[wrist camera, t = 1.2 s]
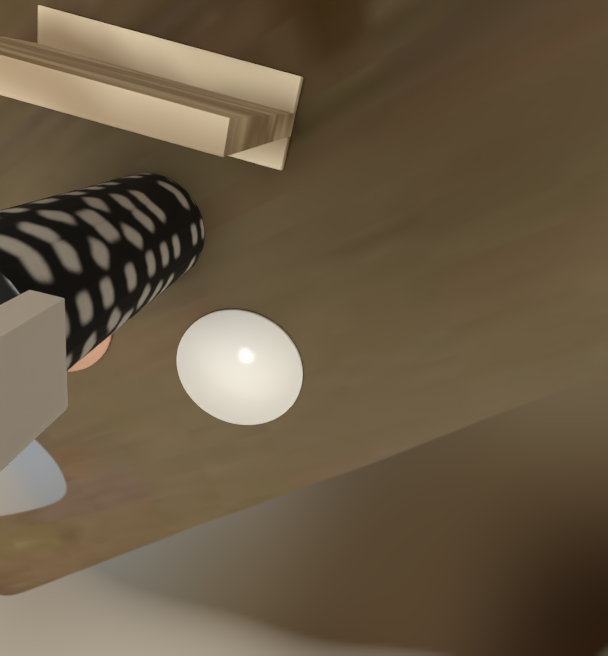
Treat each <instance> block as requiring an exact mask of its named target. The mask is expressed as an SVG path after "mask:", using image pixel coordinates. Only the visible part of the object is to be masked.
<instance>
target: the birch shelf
mask: <svg viewBox="0 0 608 656" xmlns="http://www.w3.org/2000/svg"><path fill="white" fill-rule="evenodd" d="M303 78H304V77H301V76H297V75H293V74H290V73H286V72H282V71H279V70H275V69H271V68H268V67H264V66H260V65H257V64H253V63H249V62H246V61H242V60H238V59H235V58H231V57H227V56H224V55H220V54H216V53H213V52H209V51H205V50H202V49H198V48H194V47H191V46H187V45H183V44H180V43H176V42H172V41H169V40H165V39H161V38H158V37H154V36H150V35H147V34H143V33H139V32H136V31H132V30H128V29H125V28H121V27H117V26H114V25H110V24H106V23H103V22H99V21H95V20H92V19H88V18H84V17H81V16H77V15H73V14H70V13H66V12H62V11H59V10H55V9H51V8H48V7H44V6H40V5H38V43H34V42H29V41H23V40H18V39H13V38H7V37H2V36H0V95H3V96H6V97H10V98H14V99H17V100H21V101H24V102H28V103H31V104H35V105H39V106H42V107H46V108H49V109H53V110H56V111H60V112H64V113H67V114H71V115H74V116H78V117H82V118H85V119H89V120H92V121H96V122H99V123H103V124H107V125H110V126H114V127H117V128H121V129H124V130H128V131H132V132H135V133H139V134H142V135H146V136H149V137H153V138H157V139H160V140H164V141H167V142H171V143H174V144H178V145H182V146H185V147H189V148H192V149H196V150H200V151H203V152H207V153H210V154H214V155H217V156H221V157H225V156H231V157H235V158H238V159H242V160H245V161H249V162H253V163H256V164H260V165H263V166H267V167H270V168H274V169H278V170H282V169H284V165H285V160H286V155H287V151H288V146H289V142H290V137H291V133H292V128H293V123H294V119H295V114H296V110H297V105H298V101H299V96H300V92H301V87H302V82H303Z"/></svg>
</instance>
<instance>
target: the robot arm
mask: <svg viewBox="0 0 608 656" xmlns="http://www.w3.org/2000/svg"><path fill="white" fill-rule="evenodd" d="M67 408H68V402H67V367H66V332H65V298H62V297H58V296H53V295H49V294H45V293H41V292H37V291H33V290H28V291H26V292H24V293H22V294H20V295H18V296H17V297H15V298H13V299H11V300H9V301H7V302H5V303H3V304H1V305H0V471H2V470H3V469H4V468H5V467H6V466H7V465H8V464H9V463H10V462H11V461H12V460H13V459H14V458H15V457H16V456H17V455H18V454H20V452H22V451H23V450H24V449H25V448H26V447H27V446H28V445H29V444H30V443H31V442H32V441H33V440H34V439H35V438H36V437H37V436H38V435H39V434H41V433H42V432H43V431H44V430H45V429H46V428H47V427H48V426H49V425H50V424H51V423H52V422H53V421H54V420H55V419H56V418H57V417H58V416H59V415H61V414H62V413H63V412H64V411H65V410H66V409H67Z"/></svg>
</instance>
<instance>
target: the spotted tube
mask: <svg viewBox="0 0 608 656" xmlns="http://www.w3.org/2000/svg"><path fill="white" fill-rule="evenodd" d="M203 243H204V226H203V221H202V217H201V215H200V212H199V210H198V207H197V206H196V204H195V202H194V201H193V199H192V198H191V197H190V195H189V194H188V193H187V192H186V191H185V190H184V189H183V188H182V187H180V186H179V185H178V184H177V183H175V182H174V181H172V180H170V179H168V178H166V177H163V176H160V175H156V174H150V173H141V174H134V175H130V176H126V177H122V178H119V179H115V180H111V181H108V182H104V183H100V184H96V185H93V186H89V187H85V188H82V189H78V190H74V191H70V192H67V193H63V194H59V195H56V196H52V197H48V198H44V199H41V200H37V201H33V202H30V203H26V204H22V205H18V206H15V207H11V208H7V209H4V210H0V305H1V304H3V303H5V302H7V301H9V300H11V299H13V298H15V297H17V296H18V295H20V294H22V293H24V292H26V291H28V290H33V291H37V292H41V293H45V294H49V295H53V296H58V297H62V298H65V332H66V367H67V371H68V370H69V369H70V368H72V367H73V366H74V365H75V364H76V363H78V362H79V361H80V360H81V359H82V358H84V357H85V356H86V355H87V354H88V353H90V352H91V351H92V350H93V349H94V348H96V347H97V346H98V345H99V344H100V343H102V342H103V341H104V340H105V339H106V338H108V337H109V336H110V335H111V334H112V333H114V332H115V331H116V330H117V329H118V328H120V327H121V326H122V325H123V324H124V323H126V322H127V321H128V320H129V319H130V318H132V317H133V316H134V315H135V314H136V313H138V312H139V311H140V310H141V309H142V308H144V307H145V306H146V305H147V304H148V303H150V302H151V301H152V300H153V299H154V298H156V297H157V296H158V295H159V294H160V293H162V292H163V291H164V290H165V289H166V288H168V287H169V286H170V285H171V284H172V283H174V282H175V281H176V280H177V279H178V278H180V277H181V276H182V275H183V274H185V273H186V272H187V271H188V270H189V269H190V268H191V267H192V266H193V265H194V264H195V263H196V261H197V260H198V258H199V256H200V254H201V251H202V249H203Z"/></svg>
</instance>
